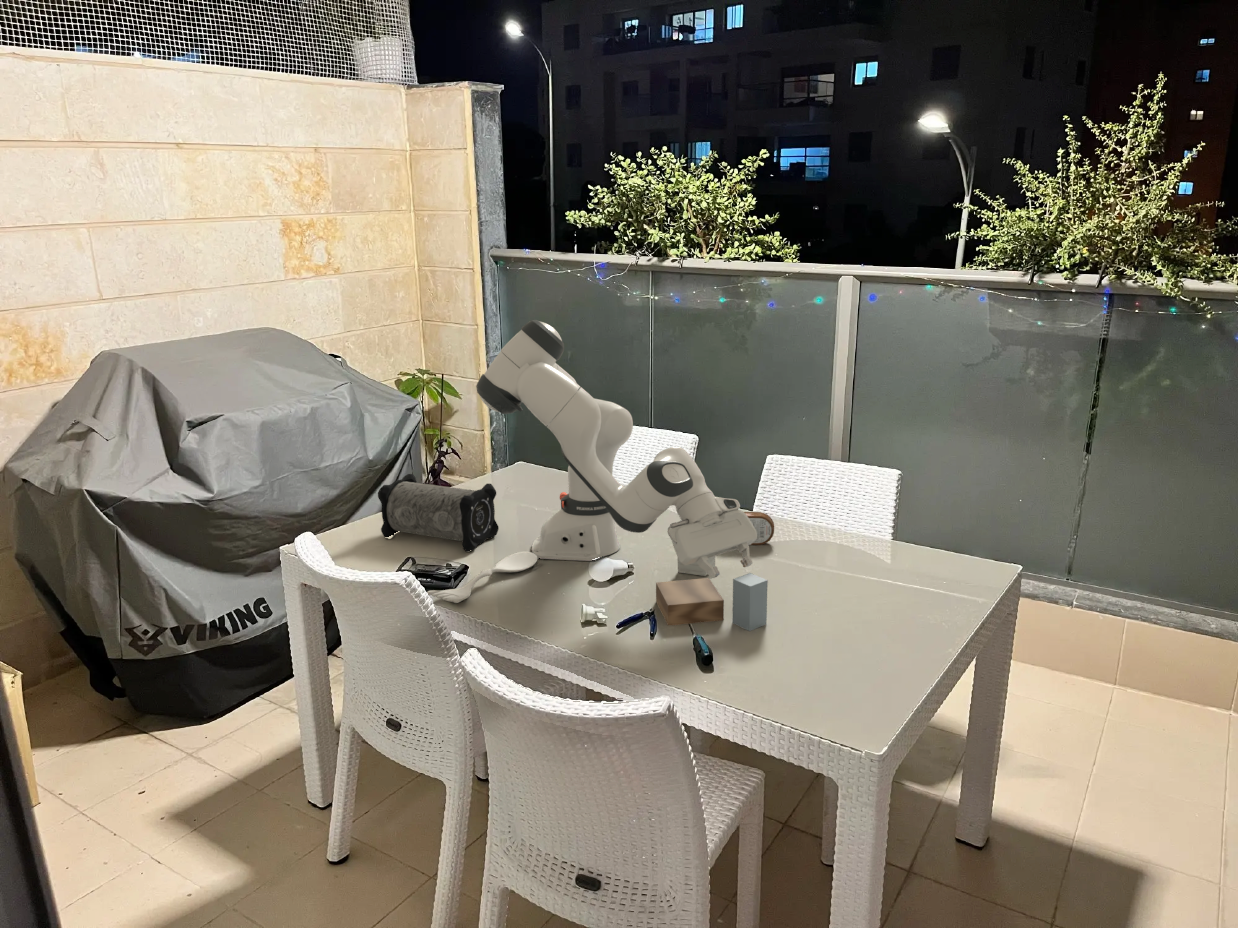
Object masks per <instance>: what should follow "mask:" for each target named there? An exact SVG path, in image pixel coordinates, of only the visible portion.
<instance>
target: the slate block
mask: <svg viewBox="0 0 1238 928" xmlns="http://www.w3.org/2000/svg"><path fill="white" fill-rule="evenodd" d="M768 583H769V582H768V579H766V578H764V577H761V576H759V575H757V574H755V573H751V572H749V573H748V572H747V573H746V574H743V575H740V576H737V577H734V578H733V579H732V618H731V619H732V624H733V625H736V626H738V627H740V628H742V629H744V630H746V631H748V632H751V631H753V630H756V629H759V628H761V627H764V626H765V625H766V626H767V620H768V619H767V617H768V616H767V615H768V613H767V612H768V585H769V584H768Z"/></svg>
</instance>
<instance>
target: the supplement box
mask: <svg viewBox="0 0 1238 928" xmlns="http://www.w3.org/2000/svg"><path fill="white" fill-rule="evenodd" d="M679 521H681V519H680V520H679ZM707 562H708V563H709V564H711V565H712V566H713V567H716V556H714V557H710V558H708V561H707ZM677 572H678V573H680V574H689V575H694V576H695V575H696V576H701V577H707V576H708V575H709V574H708V573H707V572H706V571H705V570H703V569H702V568H701V567H699V565H698V564H697V562H695V563H691V564H688V565H684V564H682V563H681V562H680V561H679V559H678V558H677Z"/></svg>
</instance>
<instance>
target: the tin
mask: <svg viewBox="0 0 1238 928" xmlns="http://www.w3.org/2000/svg"><path fill="white" fill-rule="evenodd" d="M743 512H744V513H745V514H746V515H747V516H748V518H749V519H750V521H751V523H752V524H753V526H754V528H755V530H756V532H757V539H756V540H755V541H754V542H753V543H752V544H751V545H750V546H752V545H753V546H761V545H762V546H763V545H765V544H767V543H768V542H770V541H771V540H772V538H773V537H774V534H775V522H774V519H772V517H771V516H770V515H768V514H767V513H765V512H760V511H743Z"/></svg>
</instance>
